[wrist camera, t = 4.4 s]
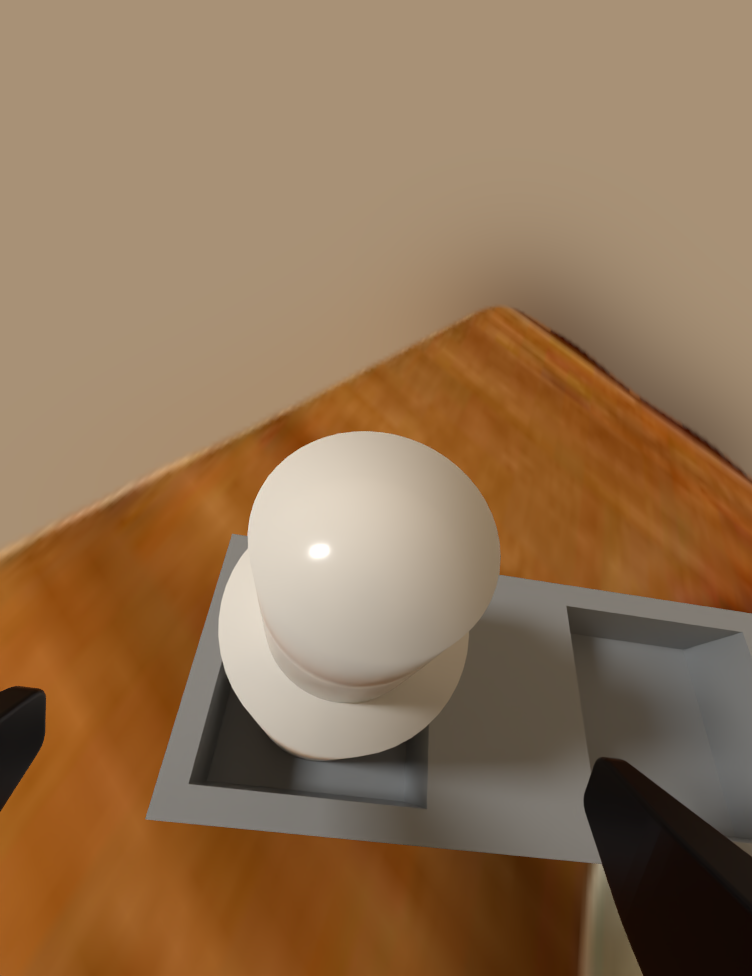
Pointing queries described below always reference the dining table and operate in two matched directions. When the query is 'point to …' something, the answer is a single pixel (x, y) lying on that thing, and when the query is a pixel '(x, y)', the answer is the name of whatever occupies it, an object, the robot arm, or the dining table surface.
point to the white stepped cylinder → (357, 594)
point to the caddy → (496, 732)
